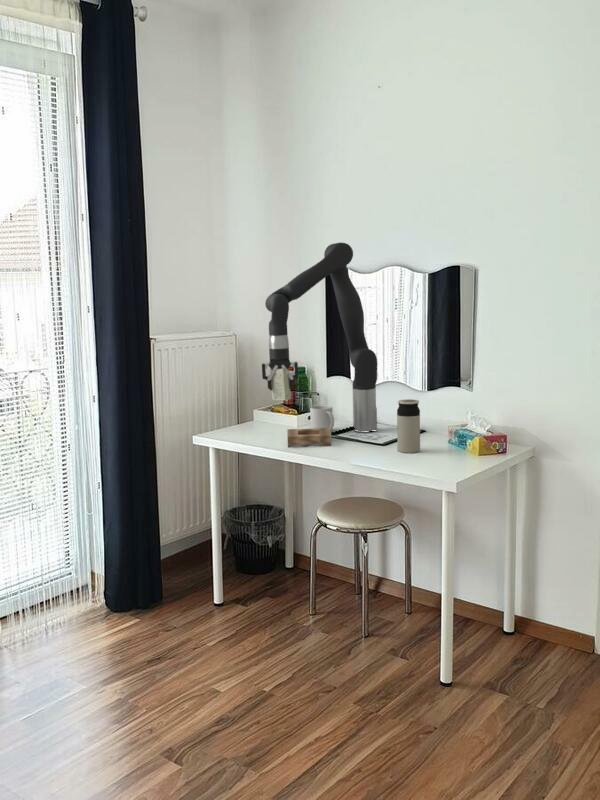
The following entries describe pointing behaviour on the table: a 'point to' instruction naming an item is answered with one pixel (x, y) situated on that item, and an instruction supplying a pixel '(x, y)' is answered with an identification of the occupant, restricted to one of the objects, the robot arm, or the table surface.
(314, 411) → the mug
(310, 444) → the socket board
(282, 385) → the skincare box
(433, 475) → the table surface
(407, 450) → the travel mug
